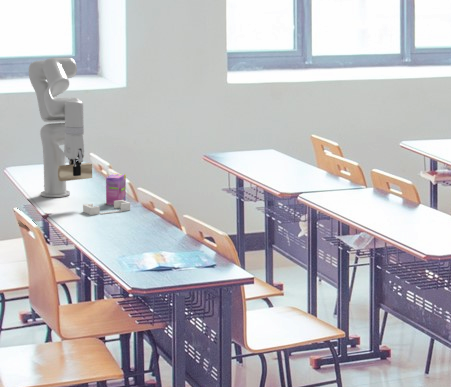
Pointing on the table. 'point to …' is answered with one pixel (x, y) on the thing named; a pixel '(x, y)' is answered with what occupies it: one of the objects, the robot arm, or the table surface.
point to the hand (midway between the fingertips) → (75, 174)
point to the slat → (67, 172)
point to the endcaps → (96, 210)
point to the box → (115, 188)
